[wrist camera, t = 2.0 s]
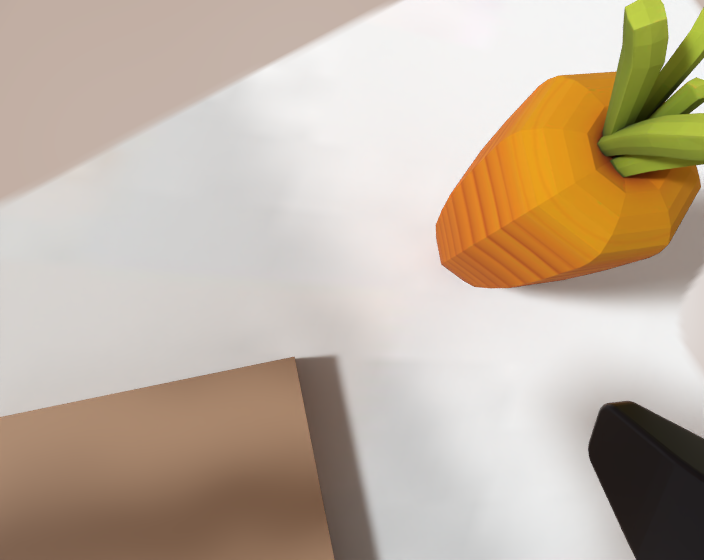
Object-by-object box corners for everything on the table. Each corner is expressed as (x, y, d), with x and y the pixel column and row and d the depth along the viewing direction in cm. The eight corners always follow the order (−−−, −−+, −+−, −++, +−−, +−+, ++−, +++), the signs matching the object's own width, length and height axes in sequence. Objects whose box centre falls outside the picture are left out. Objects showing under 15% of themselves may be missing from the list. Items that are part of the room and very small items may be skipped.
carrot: (367, 234, 24) (578, -9, 9) (466, 177, 25) (786, -114, 11) (435, 343, 24) (758, 264, 9) (531, 280, 25) (949, 123, 10)
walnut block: (343, 637, 22) (354, 661, 20) (40, 733, 19) (19, 771, 17) (288, 359, 23) (294, 356, 21) (0, 419, 21) (-24, 421, 19)
